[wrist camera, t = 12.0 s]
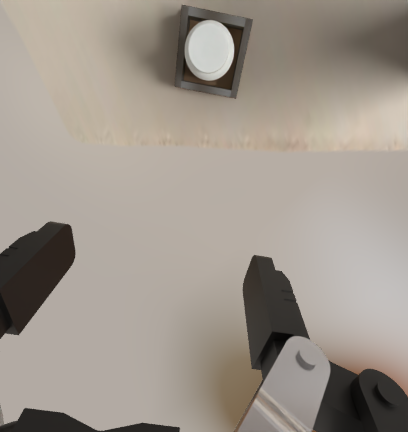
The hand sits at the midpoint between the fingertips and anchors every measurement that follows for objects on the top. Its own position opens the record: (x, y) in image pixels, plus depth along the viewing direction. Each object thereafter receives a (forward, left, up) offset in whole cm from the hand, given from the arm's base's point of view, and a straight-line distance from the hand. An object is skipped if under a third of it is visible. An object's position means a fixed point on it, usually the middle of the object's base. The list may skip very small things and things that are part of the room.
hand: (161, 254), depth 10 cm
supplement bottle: (0, -9, -30) cm, 31 cm away
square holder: (0, -9, -30) cm, 31 cm away
